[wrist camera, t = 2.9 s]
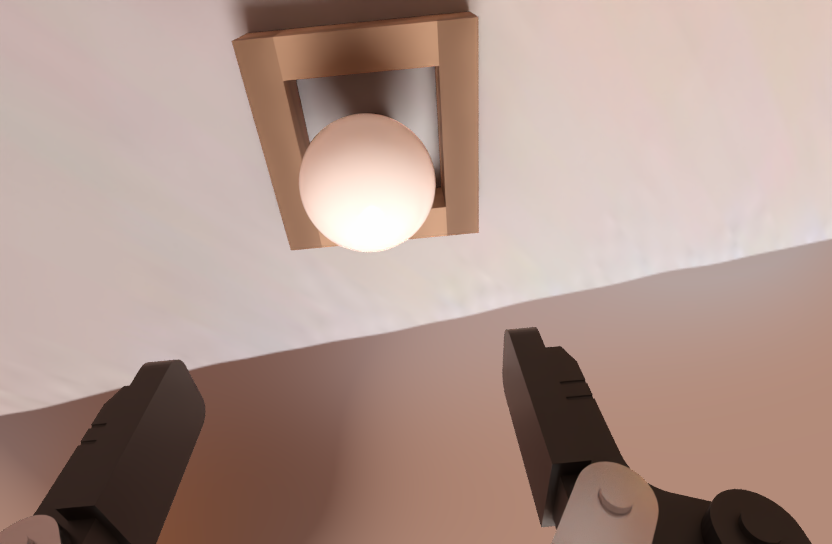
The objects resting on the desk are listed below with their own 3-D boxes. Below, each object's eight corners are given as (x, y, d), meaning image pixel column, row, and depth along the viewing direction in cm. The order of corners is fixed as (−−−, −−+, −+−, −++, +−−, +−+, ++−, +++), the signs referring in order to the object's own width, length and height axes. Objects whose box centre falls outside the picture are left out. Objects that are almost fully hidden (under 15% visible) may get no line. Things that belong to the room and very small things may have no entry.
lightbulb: (356, 197, 30) (342, 298, 21) (300, 111, 27) (253, 187, 18) (441, 153, 28) (466, 241, 19) (393, 56, 25) (395, 109, 16)
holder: (469, 11, 24) (478, 16, 22) (471, 211, 31) (478, 232, 28) (247, 33, 24) (231, 41, 22) (298, 227, 31) (291, 250, 29)
